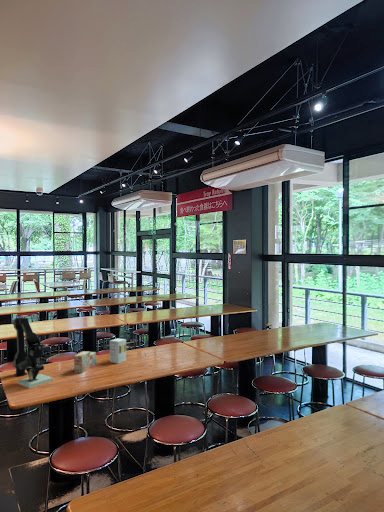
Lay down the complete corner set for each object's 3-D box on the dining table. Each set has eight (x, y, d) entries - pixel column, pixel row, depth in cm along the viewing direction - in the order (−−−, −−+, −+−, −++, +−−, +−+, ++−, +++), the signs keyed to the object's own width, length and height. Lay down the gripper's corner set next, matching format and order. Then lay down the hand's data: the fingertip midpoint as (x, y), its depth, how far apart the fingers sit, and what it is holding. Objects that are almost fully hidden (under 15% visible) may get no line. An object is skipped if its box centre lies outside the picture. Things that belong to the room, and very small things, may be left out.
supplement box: (118, 363, 264) (118, 341, 264) (109, 362, 269) (109, 340, 269) (126, 360, 272) (126, 339, 273) (117, 358, 277) (117, 337, 277)
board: (17, 383, 224) (17, 380, 224) (41, 376, 237) (41, 373, 237) (29, 388, 216) (29, 385, 216) (52, 380, 229) (52, 377, 229)
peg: (27, 382, 225) (27, 370, 225) (33, 380, 228) (33, 368, 228) (30, 384, 222) (30, 371, 222) (37, 382, 226) (37, 369, 226)
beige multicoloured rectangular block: (88, 363, 265) (88, 347, 265) (96, 364, 264) (96, 348, 264) (74, 373, 244) (73, 355, 244) (82, 373, 243) (82, 356, 243)
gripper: (12, 355, 224) (12, 379, 224) (27, 360, 213) (27, 386, 213) (29, 352, 233) (29, 375, 233) (44, 356, 222) (44, 380, 222)
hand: (32, 379), depth 225 cm, fingers closed on peg, 4 cm apart
